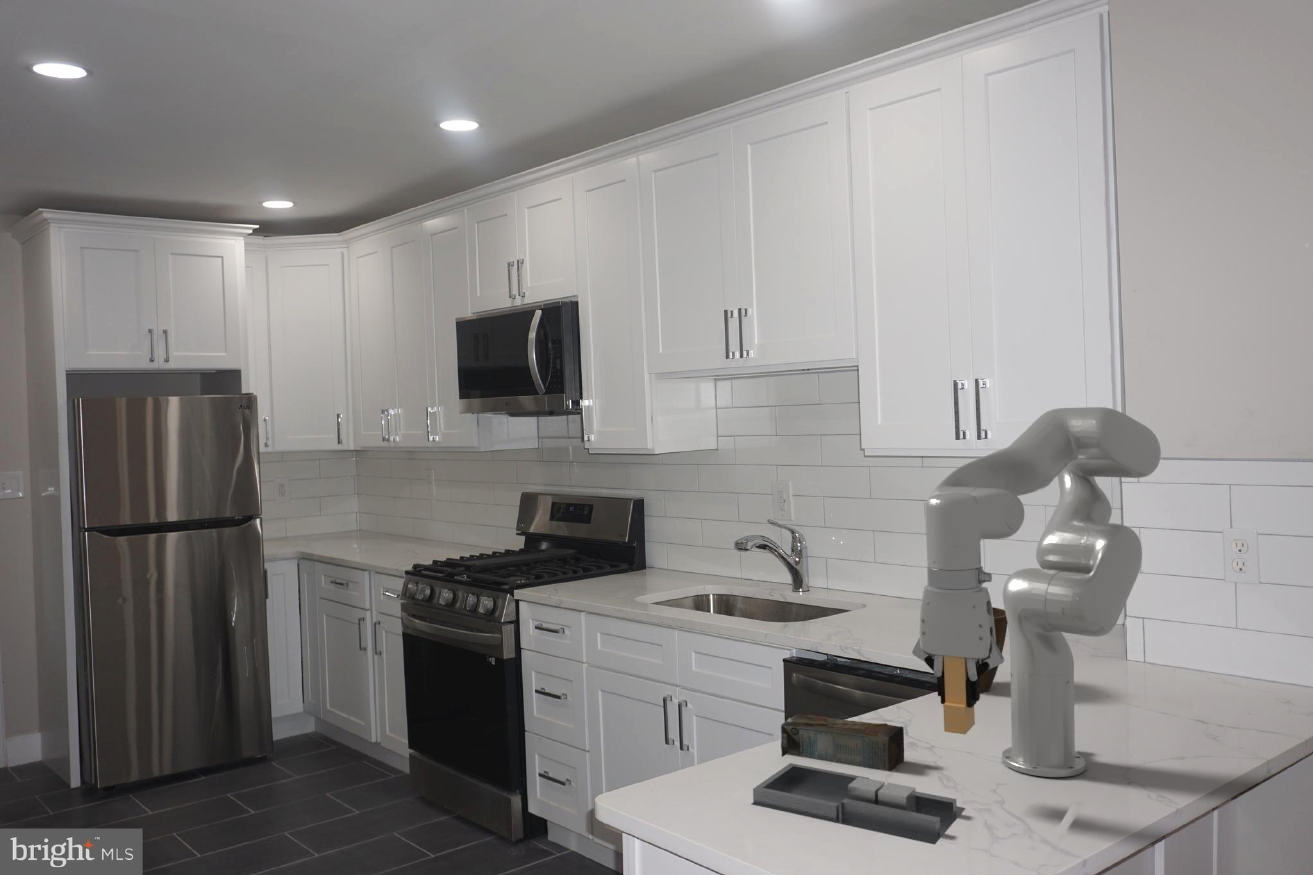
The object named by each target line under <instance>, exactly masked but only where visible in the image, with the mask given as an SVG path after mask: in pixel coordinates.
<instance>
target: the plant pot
mask: <svg viewBox="0 0 1313 875" xmlns="http://www.w3.org/2000/svg"><path fill="white" fill-rule="evenodd" d="M992 610H993V617H994V625H995V635H996V645H997V646H998V648H999V650H1000V652H1001V654H1002V655H1003V650H1004V646H1005V641H1006V636H1007V630H1008V623H1007V618H1006V613H1005V609H1004V608H999V607H994V606H992ZM989 658H990V654H989V655H988V657H987V658H985V659H981V663H982V662H983V661H984V660H987V659H989ZM999 666H1000V665H998V666H995V667H993V668H990V669H988V670H987V671H986V672H984V673H983V674H982V675H981V676H980V677H979V682H980V693H984V692H988V691H990V690H991V688H992V686H993V683H994V680H995V679H996V678H995V677H996V674H997V672H998V668H999Z"/></svg>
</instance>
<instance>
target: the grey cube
mask: <svg viewBox="0 0 1313 875" xmlns="http://www.w3.org/2000/svg"><path fill="white" fill-rule="evenodd" d="M916 792H917V791H916V787H914V786H910V785H909V786H908V785H903V784H898V783H894V782H887V783H885V786H884V787H883V788H882V789H880V790H879V791H878V805H880V806H885V807H890V808H895V809H900V810H905V811H910V812H915V813H916Z"/></svg>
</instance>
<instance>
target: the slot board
mask: <svg viewBox="0 0 1313 875" xmlns="http://www.w3.org/2000/svg"><path fill="white" fill-rule="evenodd" d="M858 777H862V778H867V779H870V777H865V776H862V775H856V774H850V773H846V772H839V771H834V770H828V769H824V768H818V767H813V766H808V765H802V764H797V763H792V762H789V763H788V764H786V765H785V766H784V767H782V768H781V769H779V770H778V771H777V772H775V773H774V774H772V775H771V776H769V777H768V778H767V779H765V780H763V781H762V782H760V783H759V784H758V785H756V786H754V788H752V796H753V797H752V798H753V799H752V800H753V801H752V803H751V805H754V806H756V807H762V808H766V809H770V810H774V811H780V812H784V813H788V814H795V815H798V816H802V817H803V816H804V817H807V818H812V819H816V820H819V821H820V820H821V821H824V822H830V823H835V824H839V825H844V826H848V827H852V828H857V829H862V830H867V831H871V832H876V833H880V834H884V835H890V836H895V837H898V838H904V839H908V840H912V841H916V842H922V843H926V844H931V845H935V844H936V843H937V842H938V841H939V840H940V839H941V837H942V836H943V835H944V834H945V833H946V831H948V830H949V828H950V827H951V826H952V825H953V824H954V822H955V821H956V820H957V819H958V818H959V817H960V815H961V814H962V813H963V812H964V811H965V809H966V807H962V806H957V799H956V798H952V797H947V796H942V795H936V794H932V793H927V792H923V791H922V792H921V791H916V813H915V812H910V811H905V810H900V809H895V808H890V807H885V806H880V805H875V804H870V803H866V802H861V801H856V800H851V799H848V785H849V784H850V783H852V782H853V781H854V780H855V779H857V778H858Z"/></svg>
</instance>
